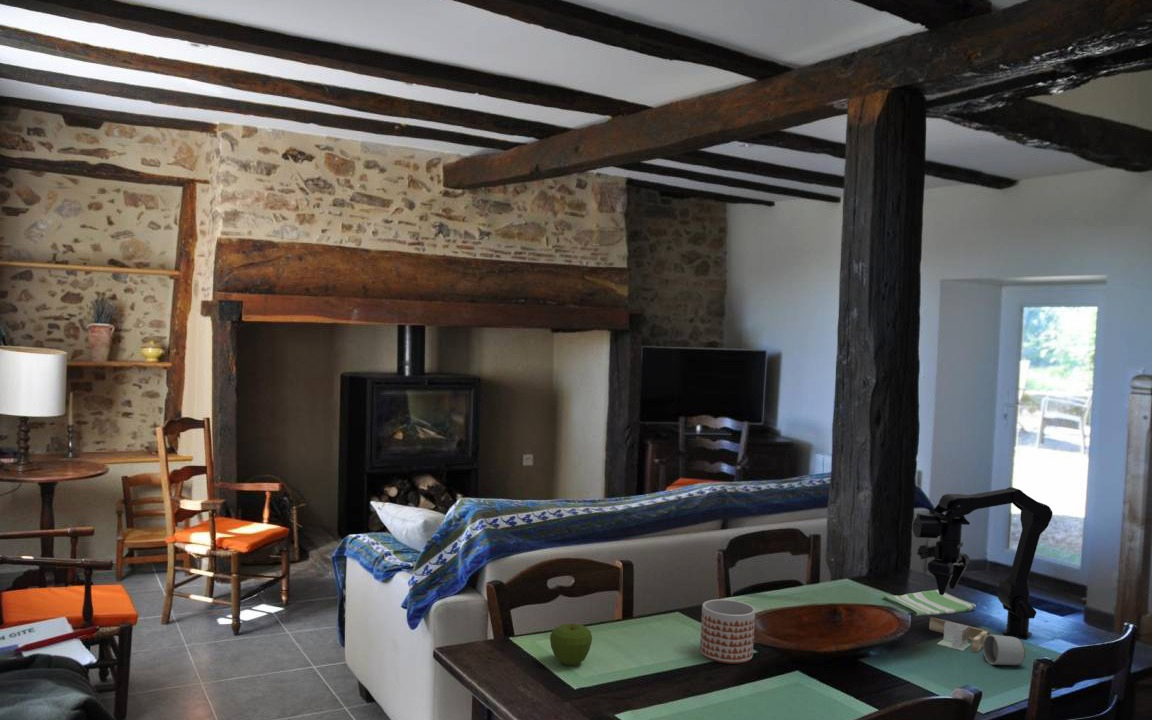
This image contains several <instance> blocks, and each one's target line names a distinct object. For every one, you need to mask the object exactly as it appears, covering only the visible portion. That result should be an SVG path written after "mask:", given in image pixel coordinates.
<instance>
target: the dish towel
mask: <svg viewBox="0 0 1152 720" xmlns="http://www.w3.org/2000/svg"><path fill="white" fill-rule="evenodd" d="M882 597H884V598H883V600H884V601H886V602H887V603H890V604H892V605H894V606H897V607H899V608H901V609H903V610H905V611H908V612H909V614H913V615H914V616H916V617H920V616H934V615H935V616H938V615H947V614H948V615H949V614H958V613H959V614H960V613H966V612H969V611H973V610H974V609H976V607H977V605H976V604H975V603H973V602H969V601H967V600H964V599H961V598H959V597H956V596H954V595H951V594H949V593H947V592H945V593H944V595H940V594H939V591H938V589H932V590H924V591H923V590H922V591H918V592H911V593H905V594H902V595H890V594H882Z"/></svg>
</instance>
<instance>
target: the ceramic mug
mask: <svg viewBox="0 0 1152 720" xmlns="http://www.w3.org/2000/svg"><path fill="white" fill-rule="evenodd" d="M982 649H983V651H982V652H983V655H984V658H985V660H986V661H987V663H988V664H990V665H992V666H1018V665H1021V664H1022V663H1023V662H1024V660H1025V658H1026V647H1025V646H1024V643H1023V641H1022V640H1021V638H1018V637H1014V636H1010V635H1006V636H1005V635H999V634H990V633H989V635H988V636H987V637H986V638H985V640H984V644H983V648H982Z"/></svg>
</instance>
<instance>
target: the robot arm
mask: <svg viewBox="0 0 1152 720" xmlns="http://www.w3.org/2000/svg"><path fill="white" fill-rule="evenodd" d="M1009 504H1013V506H1014V507H1016V508H1017V509H1018V510H1020V516H1019V517H1020V524H1021V533H1020V536H1019V537H1020V538H1019V540H1018V542H1017V547H1016V551H1015V555H1014V559H1013V563H1012V566H1011V570H1010V574H1009V575H1008V577H1007V578H1006V579H1005V580H1004V579H1002V578H1001V579H1000V580H999V583H998V584H999V585H998V588H997V590H996V593H997V599H998V601H999V602H1000V604H1001V605H1002V608H1003V609H1004V610H1006V611H1007V619H1006V620H1007V621H1006V629H1004V631H1002V634H1003V635H1006V636H1010V637H1015V638H1018V639H1023V640H1028V638H1030V637H1031V636H1032V635H1033V633H1032V632H1030V631H1029V625H1030V619H1035V617H1036V615H1037V610H1035V608H1034V607H1033V606H1032V605H1031V604H1030V603H1029V602H1030V589H1029V585H1028V584H1029V583H1028V582H1029V581H1028V580H1029V577H1030V573H1031V568H1032V565H1033V563H1034V558H1035V555H1036V552H1037V547H1038V545H1039V541H1040V536H1041V534H1043V532H1044V531H1045V530H1046V529H1047V528H1048V527H1049V525H1050V523H1051V521H1052V518H1053V511H1052V509H1051V507H1050V506H1049V505H1048V504H1045V503H1042V502H1041V501H1037V500H1035V499H1033V498H1032V497H1030V496H1029V495H1028V494H1026V493H1025V492H1024V491H1023V490H1021V489H1019V488H1015V487H1013V486H1009V487H1007V488H1002V489H996V490H991V491H985V492H979V493H974V494H961V493H947V494H943V495H941V498H940V499H939V501H938V504H937V505H935V507H934V508H933V509H932V511H931V512H930V514H924V513H916V517H915V518H914V520H913V523H912V532H913V535H914V537H915V538H921V539H923V538H924V539H925V538H926V539H938V538H939V540H938V541H936V542H935V544H932V545H927V544H922V545H919V547H918V548H917V552H916V553H917V555H918V556H919V558H920V560H925V559H928V558H929V559H930V558H933V559H931V561H929V562H927V568H926V570H927V571H928V572H929V573H930V574H932V576H933V577H934V578H935V580H936V581H935V582H936V587H937V590H938V591H939V594H940V595H944V593H946V591H947V588H948V586H949V589H951V590H954V589H955V588H956V587H957V584H958V583H959V581H960V579H961V577H962V575H963V574H964V572H965V570H966V568H967V567H968V565H969V564H970V557H969V555H968V554H967V553H963V552H961V547H962V548H963V546H964V545H963V544H964V542H962V530H963V529H962V528H963V527H962V526H963V525H965V526H967V525H969V526H970V525H971V523H970V521H969V520H967V519H966V516H967V515H969V514H971V513H972V512H973V511H976V510H979V509H981V510H982V509H986V508H991V507H998V506H1003V505H1009Z"/></svg>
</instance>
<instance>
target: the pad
mask: <svg viewBox="0 0 1152 720" xmlns="http://www.w3.org/2000/svg"><path fill="white" fill-rule="evenodd" d="M936 645H937V646H942V647H945V646H946V647H945V648H949V649H954V650H957V651H961V652H964V651H965V650H967V649H968V648H969V647H971V646H972V643H969V642H968V644H967V645H966V646H965V647H963V648H962V649H960V648H956V647H952V645H953V642H949V641H945V640H943V639H941V640H940V641H939V642H937V643H936Z"/></svg>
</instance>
